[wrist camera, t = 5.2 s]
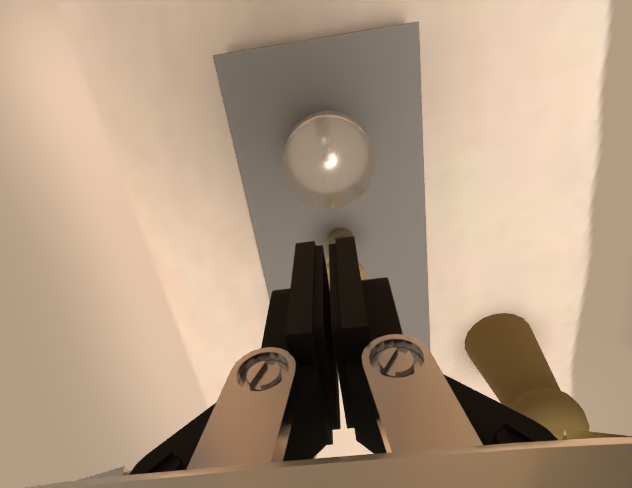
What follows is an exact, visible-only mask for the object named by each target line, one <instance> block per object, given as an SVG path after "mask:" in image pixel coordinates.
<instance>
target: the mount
mask: <svg viewBox="0 0 632 488" xmlns="http://www.w3.org/2000/svg"><path fill="white" fill-rule="evenodd" d="M213 58H214V62H215V66H216V71H217V75H218V79H219V84H220V88H221V92H222V97H223V101H224V105H225V110H226V114H227V118H228V122H229V127H230V131H231V135H232V140H233V144H234V148H235V153H236V157H237V161H238V165H239V170H240V174H241V178H242V183H243V187H244V191H245V196H246V200H247V204H248V209H249V213H250V217H251V221H252V226H253V230H254V234H255V239H256V243H257V247H258V252H259V256H260V260H261V264H262V269H263V273H264V277H265V282H266V286H267V290H268V295H269V299H270V298H271V294H272V291H273V290H280V289H289V288H290V287H291V278H292V270H293V261H294V253H295V245H296V243H302V242H310V241H315V243H316V246H318V245H323V248H324V255H325V261H326V265H327V237H328V234H329V233H330V232H331V231H332V230H334V229H336V228H346V229H348V230H350V231H351V232H352V233H353V235H354V237H355V243H356V250H357V256H358V262H359V263H360V264H361V265H362V266H363V268H364V270H365V275H366V280H367V279H375V278H384V277H388V280H389V283H390V287H391V291H392V295H393V298H394V302H395V306H396V310H397V314H398V317H399V321H400V325H401V329H402V333H403V335H408V336H411V337H414V338H416V339H418V340H419V341H421V342H423V343H424V344H425V345H426V346H427V348H428V349H429V350H430V329H429V301H428V272H427V243H426V215H425V186H424V157H423V129H422V100H421V72H420V43H419V22H413V23H407V24H401V25H395V26H389V27H383V28H377V29H371V30H365V31H359V32H352V33H346V34H340V35H334V36H328V37H322V38H316V39H310V40H304V41H298V42H292V43H286V44H279V45H273V46H267V47H261V48H255V49H249V50H243V51H237V52H231V53H225V54H219V55H213ZM326 110H330V111H338V112H341V113H344V114H346V115H348V116H350V117H352V118H353V119H355V120H356V121H357V122H358V123H359V124H360V126H361V127H362V128H363V130H364V131H365V133H366V135H367V138H368V140H369V142H370V144H371V146H372V149H373V153H374V159H375V167H374V173H373V177H372V179H371V182H370V184H369V186H368V187H367V189H366V190H365V191H364V193H363V194H362V195H361V196H360V197H359V198H357V199H356V200H355V201H353V202H351V203H350V204H347V205H345V206H342V207H339V208H332V209H324V208H318V207H314V206H311V205H309V204H307V203H305V202H303V201H302V200H300V199H299V198H298V197H297V196H296V195H295V194H294V193H293V192H292V191H291V189H290V188H289V186H288V185H287V183H286V180H285V178H284V174H283V168H282V159H283V153H284V150H285V147H286V144H287V141H288V139H289V136H290V134H291V132H292V131H293V129H294V128H295V126H296V125H297V124H298V123H299V122H300V121H301V120H302V119H304V118H305V117H307V116H308V115H310V114H313V113H315V112H319V111H326ZM338 380H339V375H338Z"/></svg>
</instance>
